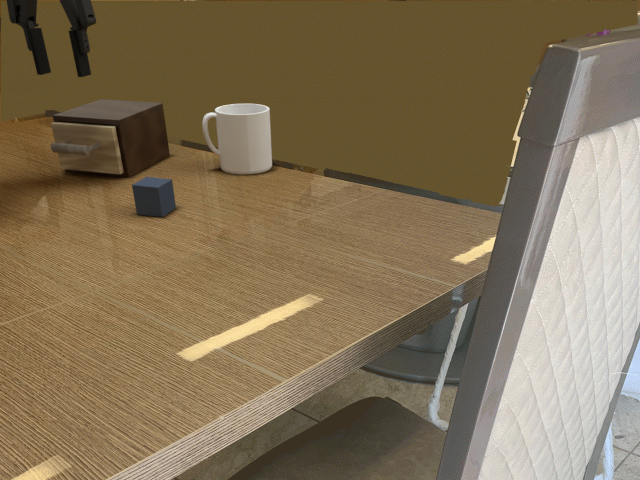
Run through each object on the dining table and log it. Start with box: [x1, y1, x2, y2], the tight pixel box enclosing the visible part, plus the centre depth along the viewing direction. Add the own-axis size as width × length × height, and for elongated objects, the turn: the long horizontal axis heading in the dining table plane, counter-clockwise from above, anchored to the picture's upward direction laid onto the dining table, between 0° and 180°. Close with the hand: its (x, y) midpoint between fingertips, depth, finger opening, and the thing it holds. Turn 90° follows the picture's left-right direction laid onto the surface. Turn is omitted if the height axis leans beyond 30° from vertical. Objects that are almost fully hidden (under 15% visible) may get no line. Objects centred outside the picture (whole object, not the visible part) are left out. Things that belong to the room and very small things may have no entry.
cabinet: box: [52, 98, 171, 178], centre depth 123 cm, size 16×14×10 cm
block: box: [131, 176, 177, 218], centre depth 102 cm, size 5×5×5 cm
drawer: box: [50, 121, 124, 174], centre depth 120 cm, size 20×13×8 cm, turn 162°
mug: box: [202, 103, 273, 175], centre depth 120 cm, size 13×10×10 cm
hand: (64, 74), depth 107 cm, fingers open, 7 cm apart
